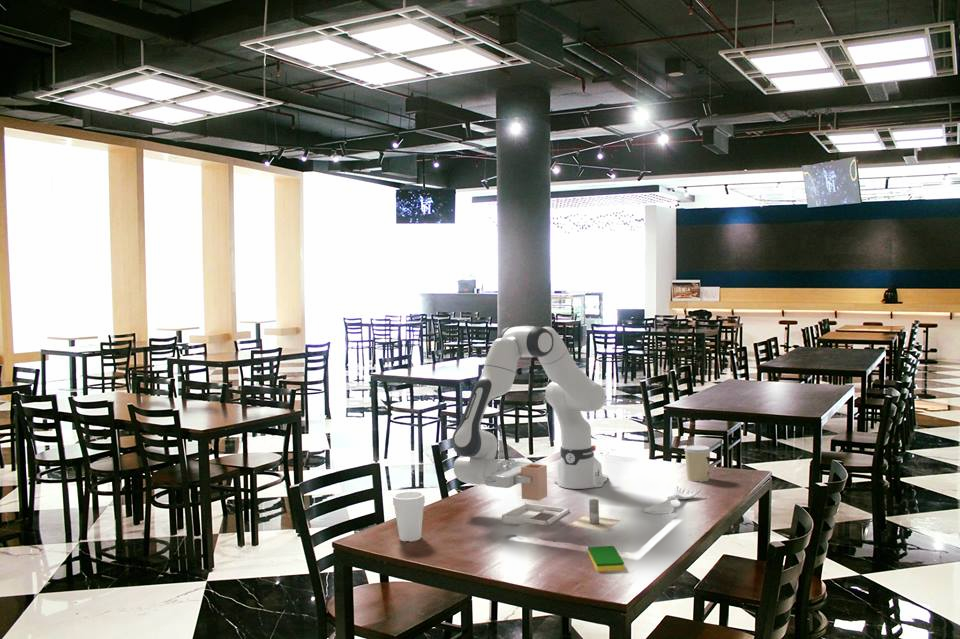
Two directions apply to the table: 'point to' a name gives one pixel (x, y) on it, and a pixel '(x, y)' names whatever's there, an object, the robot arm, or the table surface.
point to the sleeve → (534, 482)
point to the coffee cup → (697, 462)
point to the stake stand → (594, 519)
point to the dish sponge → (605, 558)
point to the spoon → (667, 505)
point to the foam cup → (409, 514)
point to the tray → (531, 514)
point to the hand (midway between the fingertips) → (536, 477)
